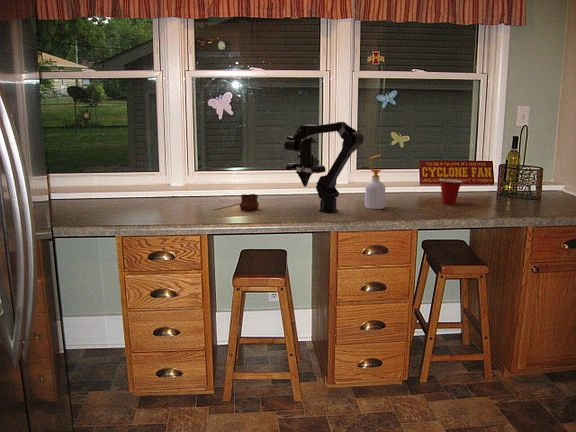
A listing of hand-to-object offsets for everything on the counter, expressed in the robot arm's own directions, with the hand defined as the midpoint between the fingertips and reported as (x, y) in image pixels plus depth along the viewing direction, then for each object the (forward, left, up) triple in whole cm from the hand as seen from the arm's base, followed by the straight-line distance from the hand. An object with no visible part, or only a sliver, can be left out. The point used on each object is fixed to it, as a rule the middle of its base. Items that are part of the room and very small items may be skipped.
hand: (305, 186), depth 251 cm
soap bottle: (-25, -21, -10) cm, 34 cm away
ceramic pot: (+18, +19, -11) cm, 28 cm away
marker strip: (+30, +19, -10) cm, 37 cm away
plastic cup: (-49, -52, -10) cm, 72 cm away
